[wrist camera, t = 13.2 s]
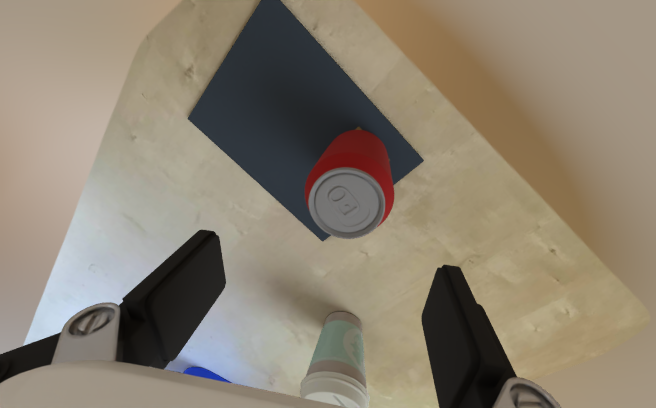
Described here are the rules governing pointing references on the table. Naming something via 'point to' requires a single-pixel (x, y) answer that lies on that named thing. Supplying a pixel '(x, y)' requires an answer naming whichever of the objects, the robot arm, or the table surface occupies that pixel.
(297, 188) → the mat
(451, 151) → the table surface
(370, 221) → the beverage can
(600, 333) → the table surface
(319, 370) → the coffee cup
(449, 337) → the robot arm
